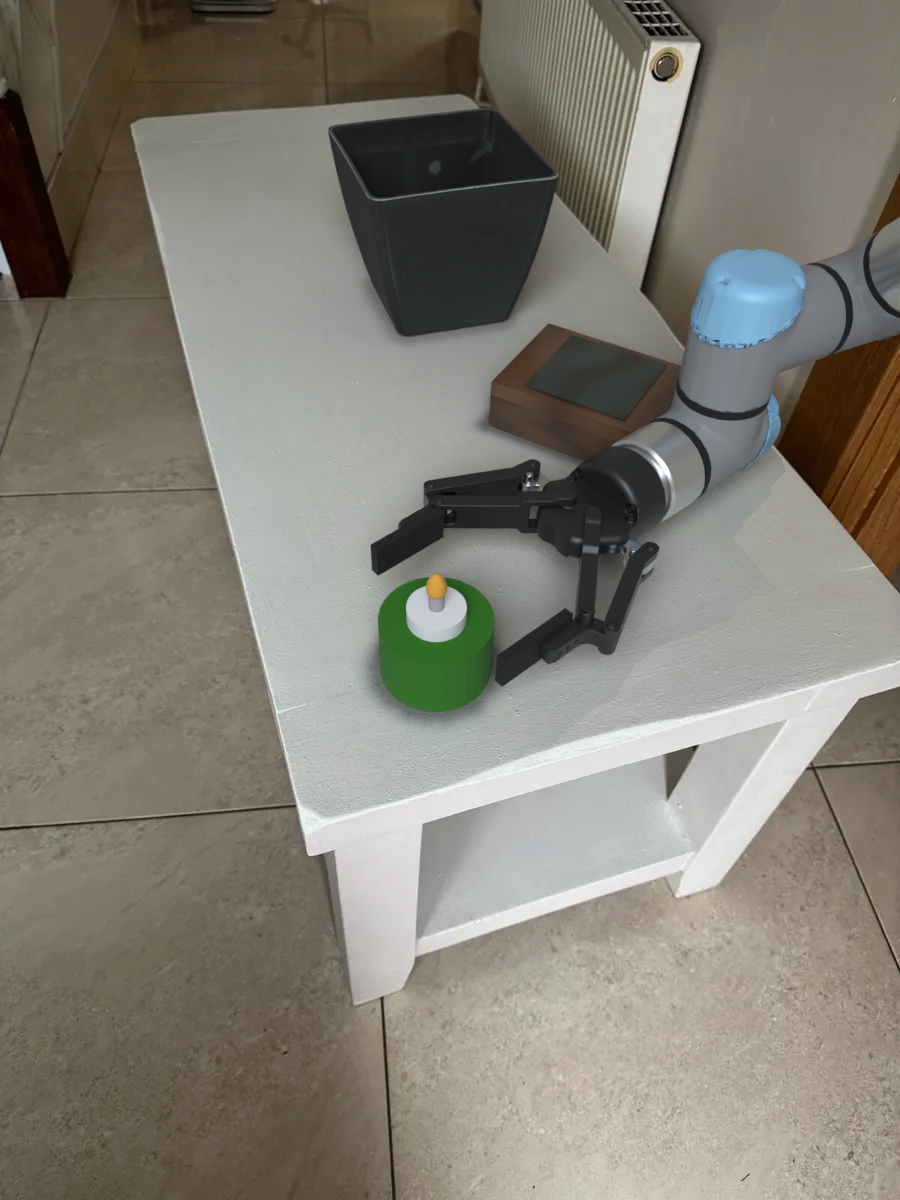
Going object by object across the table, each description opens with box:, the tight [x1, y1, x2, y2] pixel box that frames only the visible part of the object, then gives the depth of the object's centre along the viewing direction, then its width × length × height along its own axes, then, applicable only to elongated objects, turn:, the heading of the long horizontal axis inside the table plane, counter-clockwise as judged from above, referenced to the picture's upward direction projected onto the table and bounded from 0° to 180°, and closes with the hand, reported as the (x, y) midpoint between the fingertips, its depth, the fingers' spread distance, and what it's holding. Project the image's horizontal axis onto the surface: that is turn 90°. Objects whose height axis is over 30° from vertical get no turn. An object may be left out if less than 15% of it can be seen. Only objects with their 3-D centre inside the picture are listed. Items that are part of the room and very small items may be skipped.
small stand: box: [488, 322, 681, 462], centre depth 89 cm, size 16×12×5 cm
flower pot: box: [327, 107, 560, 336], centre depth 99 cm, size 19×19×17 cm
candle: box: [377, 572, 496, 713], centre depth 66 cm, size 8×8×10 cm
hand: (433, 613), depth 66 cm, fingers open, 13 cm apart
